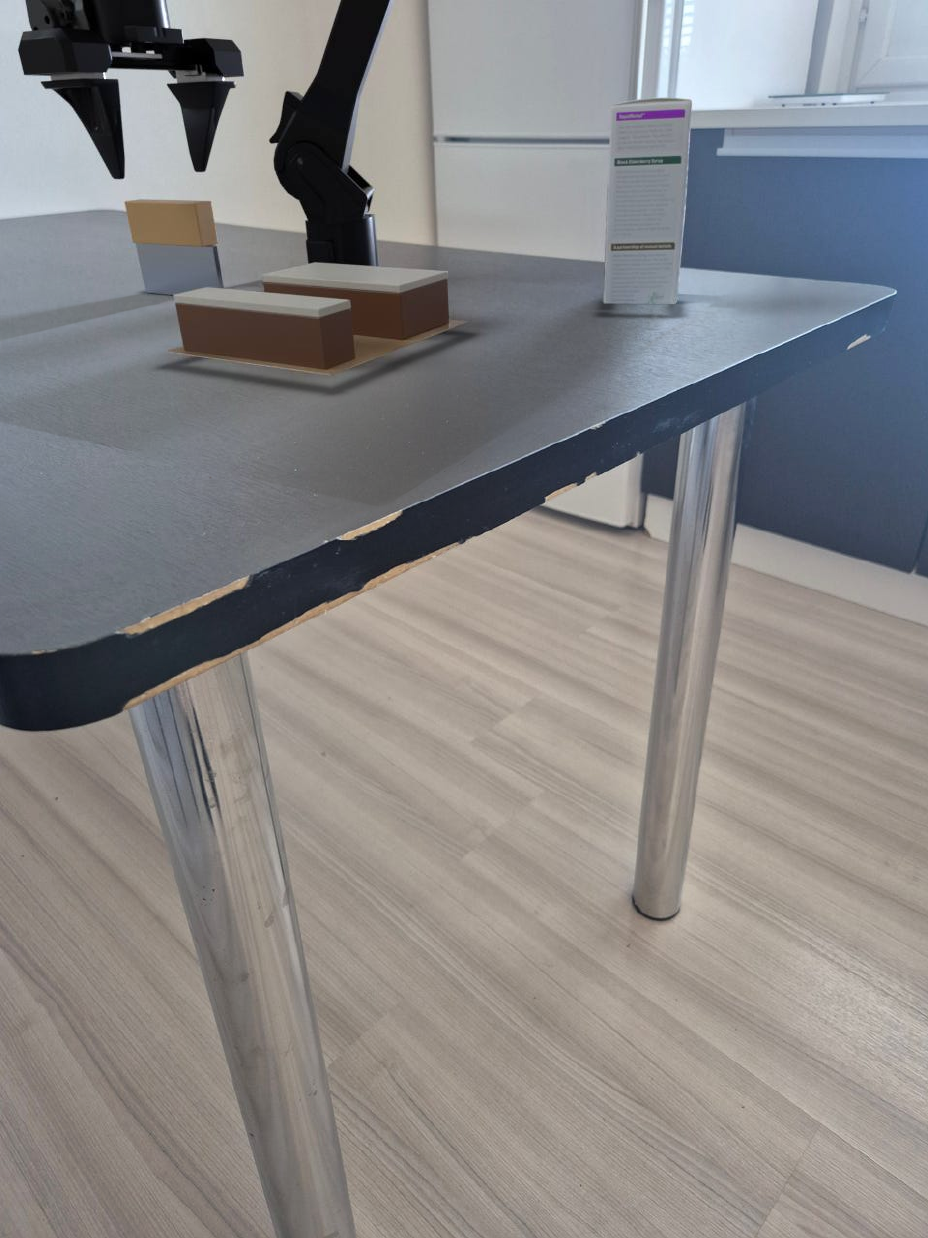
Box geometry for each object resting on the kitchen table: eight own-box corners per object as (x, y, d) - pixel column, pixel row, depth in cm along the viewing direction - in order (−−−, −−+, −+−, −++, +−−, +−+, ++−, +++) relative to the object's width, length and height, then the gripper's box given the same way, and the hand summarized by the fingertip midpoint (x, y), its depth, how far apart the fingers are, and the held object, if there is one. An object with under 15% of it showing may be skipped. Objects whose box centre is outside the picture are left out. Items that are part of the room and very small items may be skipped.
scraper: (140, 293, 81) (119, 200, 77) (156, 290, 82) (137, 198, 78) (215, 301, 76) (198, 202, 72) (231, 297, 78) (215, 200, 74)
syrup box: (676, 316, 65) (698, 95, 58) (599, 316, 66) (610, 99, 59) (676, 302, 70) (695, 96, 62) (604, 301, 71) (614, 99, 64)
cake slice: (216, 340, 58) (207, 286, 56) (355, 358, 53) (350, 299, 51) (183, 350, 56) (172, 294, 54) (325, 369, 51) (318, 308, 49)
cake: (320, 309, 66) (314, 262, 65) (449, 322, 61) (447, 270, 59) (268, 325, 62) (261, 274, 60) (403, 340, 57) (399, 285, 55)
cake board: (319, 319, 68) (318, 306, 68) (469, 335, 62) (468, 320, 61) (168, 366, 56) (164, 351, 56) (333, 391, 50) (331, 374, 50)
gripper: (143, -28, 76) (177, 168, 84) (-55, -55, 63) (8, 181, 71) (233, -40, 71) (260, 168, 79) (40, -73, 58) (96, 183, 66)
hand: (161, 175), depth 74 cm, fingers open, 9 cm apart
